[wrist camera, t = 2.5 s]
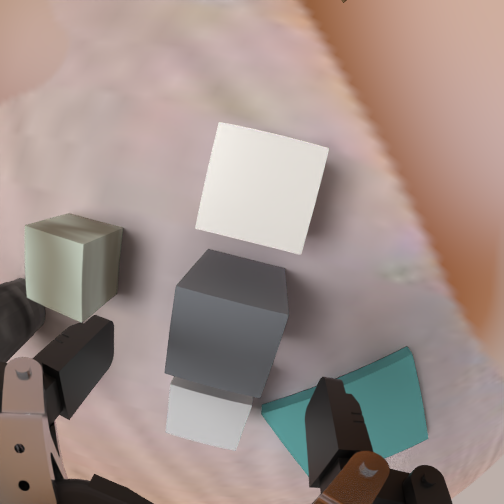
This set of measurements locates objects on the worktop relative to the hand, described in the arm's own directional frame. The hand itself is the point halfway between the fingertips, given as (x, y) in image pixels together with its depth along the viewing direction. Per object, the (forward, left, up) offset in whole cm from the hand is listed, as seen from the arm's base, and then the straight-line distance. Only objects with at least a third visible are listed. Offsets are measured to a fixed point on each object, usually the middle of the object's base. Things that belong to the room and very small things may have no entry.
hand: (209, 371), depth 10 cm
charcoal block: (0, 0, -8) cm, 8 cm away
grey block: (-5, +4, -8) cm, 10 cm away
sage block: (+6, +8, -8) cm, 13 cm away
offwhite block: (+5, -4, -8) cm, 10 cm away
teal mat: (-14, -3, -8) cm, 16 cm away
